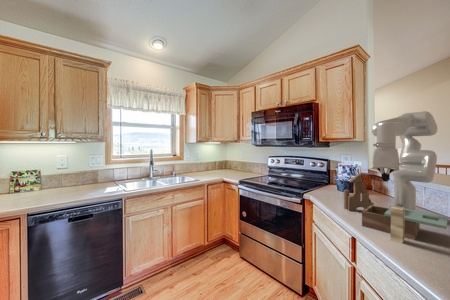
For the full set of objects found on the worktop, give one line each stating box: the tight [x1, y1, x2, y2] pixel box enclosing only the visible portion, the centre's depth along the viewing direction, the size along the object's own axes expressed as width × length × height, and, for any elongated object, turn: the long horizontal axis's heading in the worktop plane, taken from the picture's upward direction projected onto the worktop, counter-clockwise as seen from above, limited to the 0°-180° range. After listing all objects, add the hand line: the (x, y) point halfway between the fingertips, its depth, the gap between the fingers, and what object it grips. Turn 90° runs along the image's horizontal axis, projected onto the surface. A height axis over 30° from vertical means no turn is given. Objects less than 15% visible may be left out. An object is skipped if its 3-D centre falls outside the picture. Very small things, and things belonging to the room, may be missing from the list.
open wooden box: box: [361, 205, 421, 241], centre depth 99 cm, size 16×20×9 cm
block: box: [390, 205, 405, 245], centre depth 86 cm, size 4×4×16 cm
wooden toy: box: [343, 173, 375, 212], centre depth 128 cm, size 16×7×25 cm, turn 72°
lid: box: [384, 203, 449, 230], centre depth 92 cm, size 16×20×4 cm
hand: (385, 181), depth 100 cm, fingers closed
